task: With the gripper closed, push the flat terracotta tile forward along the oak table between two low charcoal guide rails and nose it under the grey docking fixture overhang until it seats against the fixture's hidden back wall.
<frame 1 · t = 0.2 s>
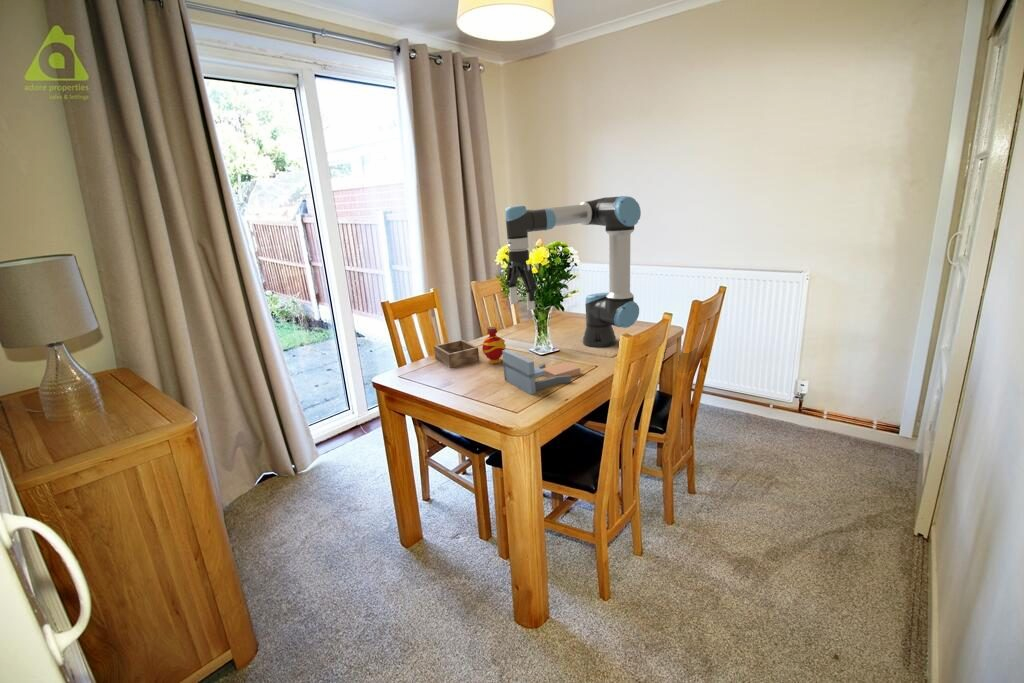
hand: (522, 306, 180), 28 cm above the table, fingers open, 13 cm apart
walnut display tray: (456, 359, 213), on the table
terracotta tile: (561, 375, 186), on the table
potion bottle: (495, 361, 207), on the table
grey docking fixture: (535, 381, 180), on the table
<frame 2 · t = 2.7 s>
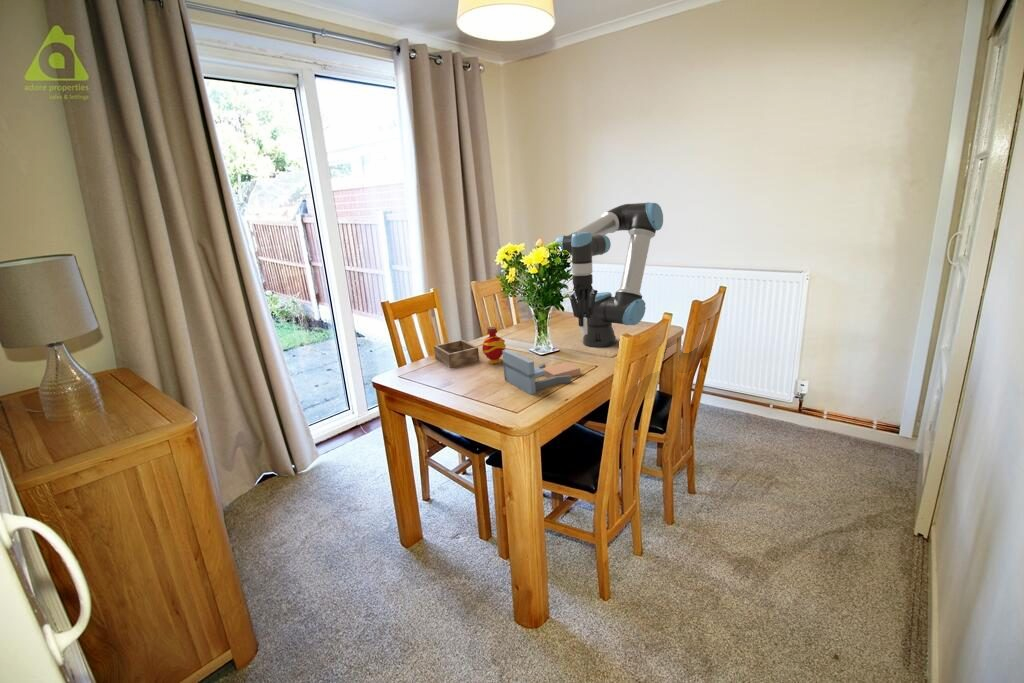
hand: (583, 333, 187), 14 cm above the table, fingers closed
nothing on the table moved.
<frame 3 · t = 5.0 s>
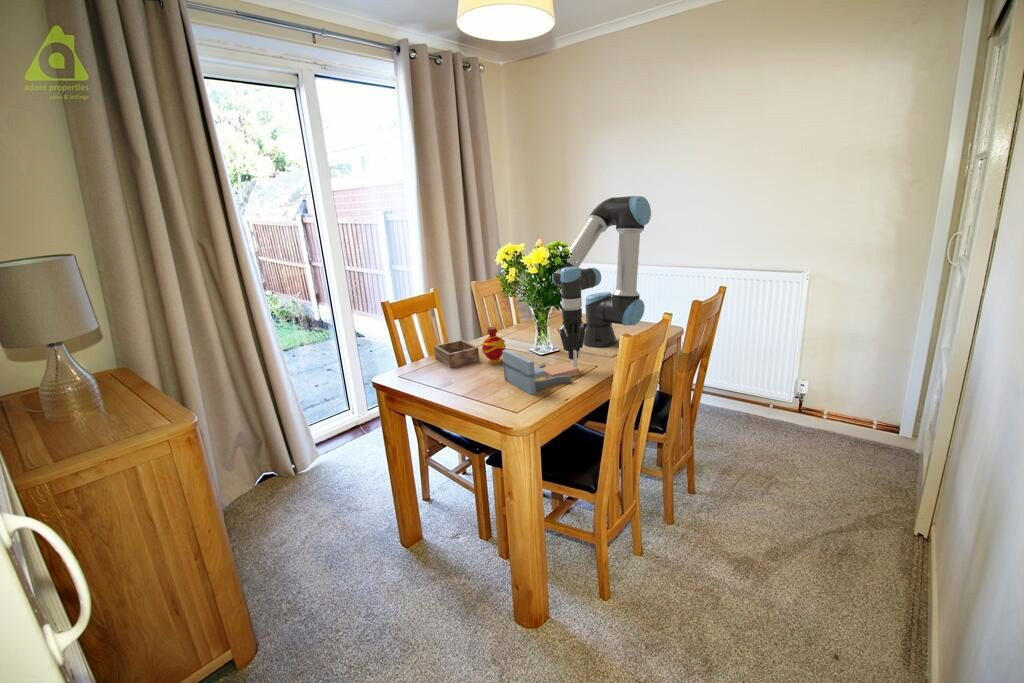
hand: (573, 366, 188), 2 cm above the table, fingers closed
nothing on the table moved.
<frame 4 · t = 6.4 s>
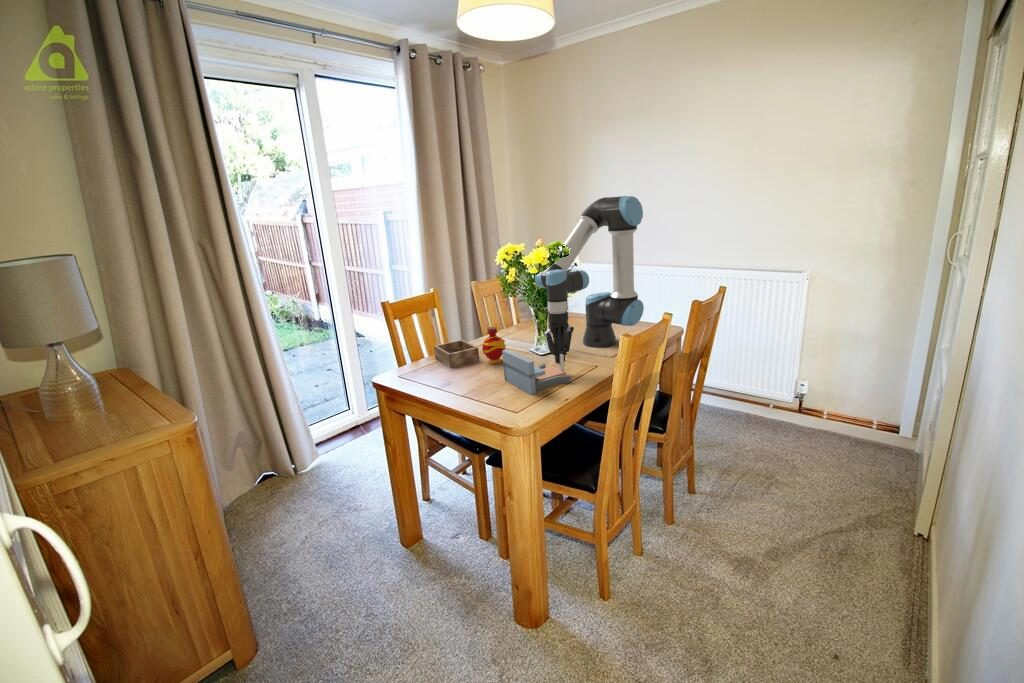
hand: (560, 370, 185), 2 cm above the table, fingers closed
terracotta tile: (546, 380, 183), on the table, touching gripper
everything else where it was.
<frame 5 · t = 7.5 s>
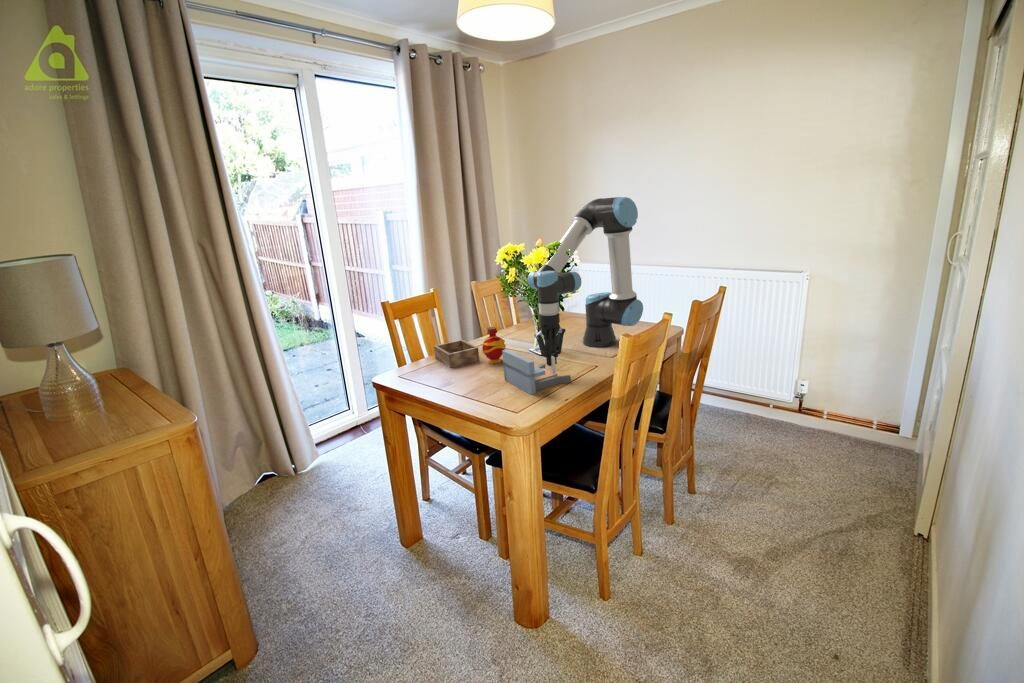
hand: (552, 372, 183), 2 cm above the table, fingers closed
terracotta tile: (537, 382, 181), on the table, touching gripper
everything else where it was.
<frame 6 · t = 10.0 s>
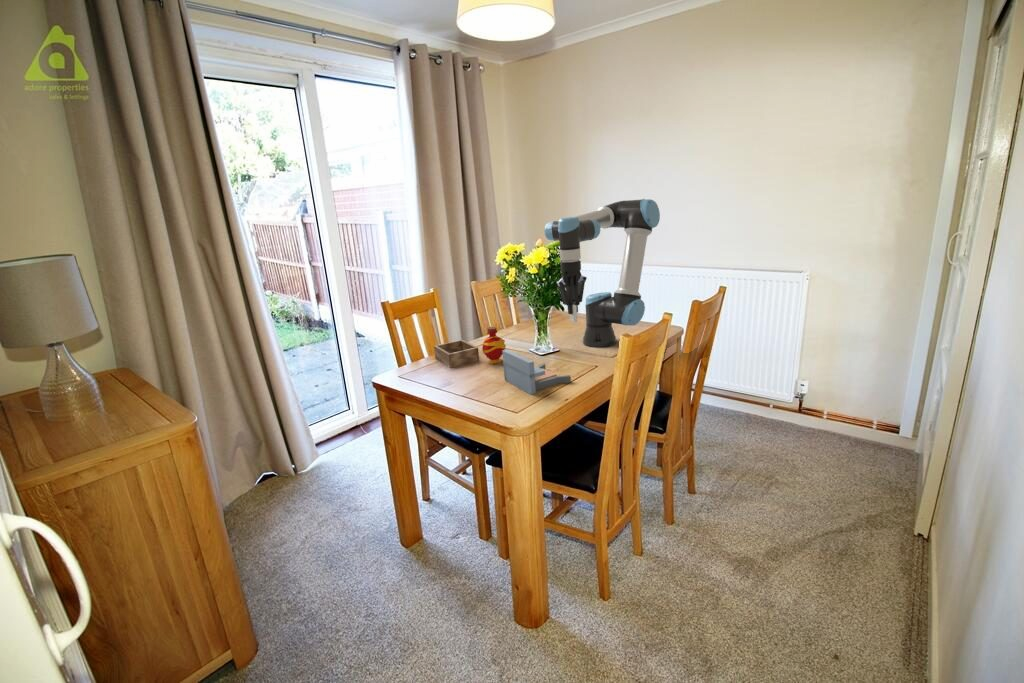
hand: (573, 321, 184), 20 cm above the table, fingers closed
terracotta tile: (537, 382, 181), on the table
everything else where it was.
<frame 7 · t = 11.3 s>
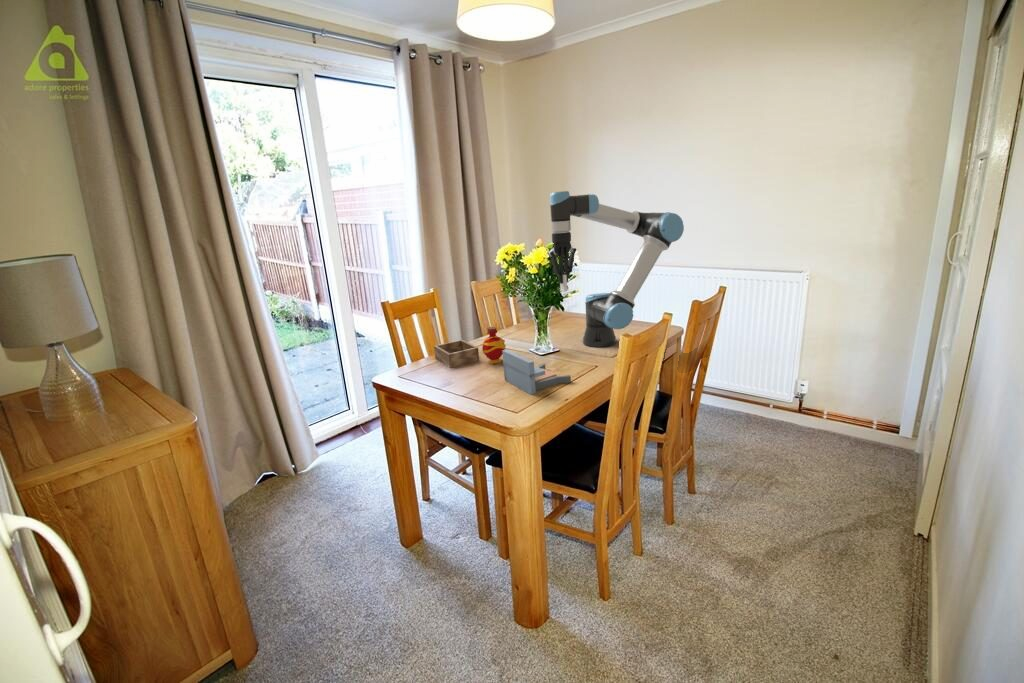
hand: (563, 290, 195), 29 cm above the table, fingers closed
nothing on the table moved.
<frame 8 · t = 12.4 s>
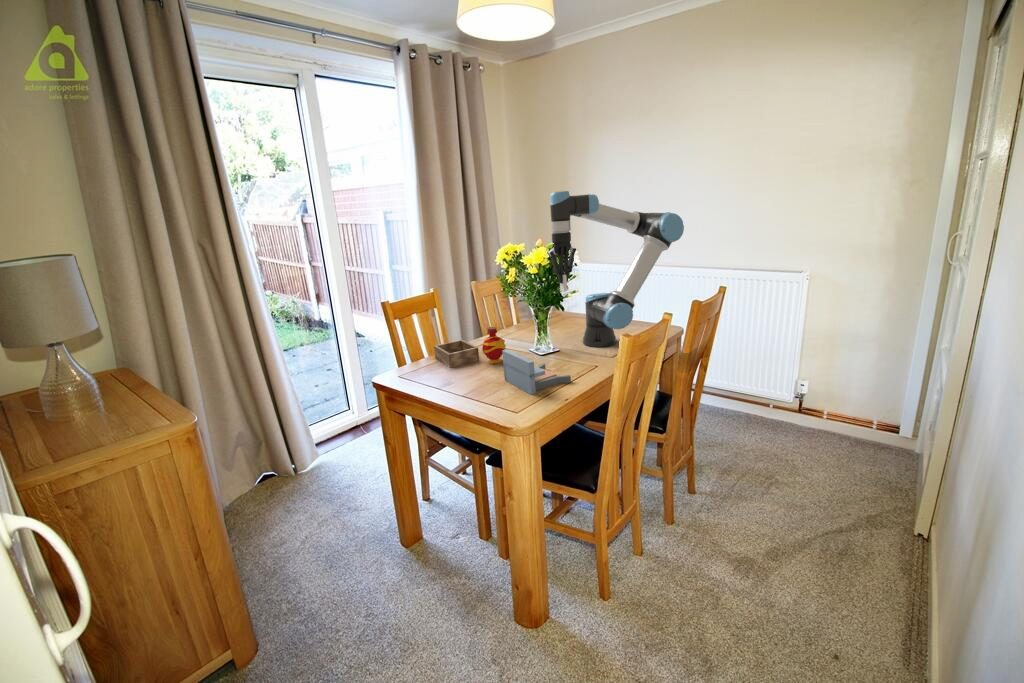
hand: (563, 290, 195), 29 cm above the table, fingers closed
nothing on the table moved.
at the end: terracotta tile 0.8 cm from the target spot, on the table; terracotta tile tilted 0°; the gripper is holding nothing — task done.
